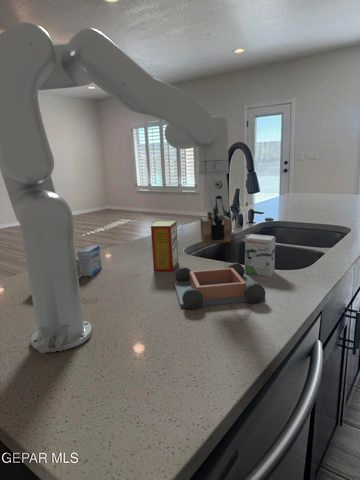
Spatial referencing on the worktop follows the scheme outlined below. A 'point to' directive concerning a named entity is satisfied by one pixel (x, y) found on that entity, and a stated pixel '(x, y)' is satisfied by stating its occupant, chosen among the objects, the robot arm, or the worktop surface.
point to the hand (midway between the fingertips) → (215, 236)
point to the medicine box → (89, 260)
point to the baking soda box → (164, 246)
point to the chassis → (216, 287)
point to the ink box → (259, 254)
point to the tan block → (207, 234)
